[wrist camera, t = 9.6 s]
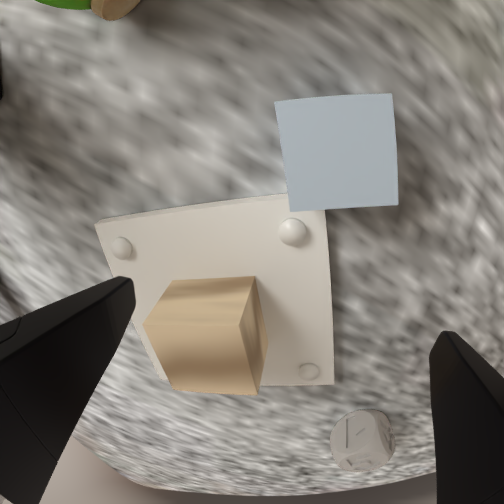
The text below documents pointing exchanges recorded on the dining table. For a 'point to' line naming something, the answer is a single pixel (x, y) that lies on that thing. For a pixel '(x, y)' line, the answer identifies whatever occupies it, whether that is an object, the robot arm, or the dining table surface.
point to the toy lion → (97, 6)
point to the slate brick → (339, 151)
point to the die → (362, 441)
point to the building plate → (237, 272)
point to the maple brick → (210, 335)
